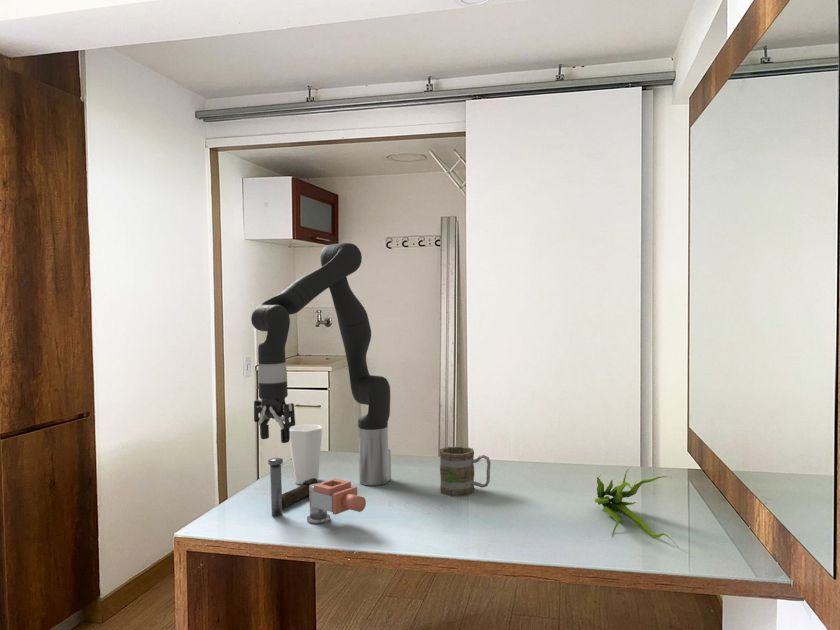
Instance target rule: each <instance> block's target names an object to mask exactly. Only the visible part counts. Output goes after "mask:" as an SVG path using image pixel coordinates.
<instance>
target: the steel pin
mask: <svg viewBox="0 0 840 630" xmlns="http://www.w3.org/2000/svg"><path fill="white" fill-rule="evenodd" d="M283 460H284V459H283V458H282V457H272V458H269V459H267V464H268V465H269V466H270V467H269V468H270V470H269V471H270V500H271V501H270V502H271V503H270V504H271V517H272V518H273V517H274V518H279V517H280V518H281V517H282V516H283V509H282V494H283V490H282V489H283V487H282V464H284V463H283V462H284V461H283Z"/></svg>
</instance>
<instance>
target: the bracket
mask: <svg viewBox="0 0 840 630" xmlns="http://www.w3.org/2000/svg"><path fill="white" fill-rule="evenodd" d="M318 483H319V484H315V485H313V491H315V492H319V493H323V494H327V495H331V494H332V505H333V512H332V515H339V514H341V513H344V512H347V511H349V510H352V511H354V512H358V513H361V512H363V510H365V507H366V506H367V505H366V504H367V500H366V498H365V497H364V496H361V495H358V487H357V486H352V481H349V480H346V479H341V478H340V479H339V478H331V479H329V480H325V481H323V482H318ZM332 486H333V487H332Z"/></svg>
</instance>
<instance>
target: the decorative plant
mask: <svg viewBox="0 0 840 630" xmlns="http://www.w3.org/2000/svg"><path fill="white" fill-rule="evenodd" d="M630 469H631V467H629V468H628V469H627V470H626V471H625V473H624V476H623V480H622V483H621V484H620V485H617V486H615V487H614V484H613V482H614V481H615V480H616V479H617V478H614V479H611V480H610V481H609V485H607V486H606V488H605V484H604V483H603V482H602V481H601V479H600V476H601V475H602V473H600V475H599V476H597V477H596V484H597V486H596V491H597V492H596V493H597V495H596V496H597V498H595V499H594V503H595V504H596V503H597V505H598V506H599V505H602V507H603V509H602V510H601V511H602V512H604V513H606V514H607V515H609V516H611V518H613V520H615V521H616V522H615V525H614V528H613V530H612V533H611V537H613V536H614V534H615V531H616V530H617V527H618V526H619V524H620V523H621V518H620V516H619V514H623V515H624V516H625V517H628V518H629V519H630V520H631V521H632V522H633V523H634V524H636V525H637V526H638V527H639V528H640V529H641V530H642V531H643V532H645V533H646V534H647V535H648V536H649V537H651V538H654V539H655V538H656V539H659V538H661V537H663V536H666V538H668V539H669V540H671V541H672V542H673V543H674V544H675V546H676V547H677V548H678V549H679V546H678V545H677V544H676V542H675V541H674V539H672V538H671V537H670V536H668V534H666V533H664V532H661V533H652V531H651V530H650V528H649V526H647V524H646V522H645V521H644V520H643V519H642V518H641V517H639V516H638V515H637V514H635V512H633V511H632V510H631V509H629V507H628V506H631V505H634V504H638V502H637V501H635V502H627V501H623V499H624V498H629V497H632V496H634V495H636V494H637V492H638V491H639V489H640V488H641V486H642V485H643V484H647V483H650V482H654V481H656V480H658V479H660V478H661V479H662V478H671V479H672V478H673V477H672V476H666V475H662V476H656V477H654V478H647V479H642V480H641V481H639V482H638V483H637V481H638V480H637V479H636V480H635V483H634V484H633V486H631V485H630V483H629V482H627V481H626V478H627V473H628V472H629V470H630ZM626 486H628V488H630V490H624V489H625V488H626ZM613 487H614V488H613ZM623 490H624V491H623ZM610 497H611V498H610ZM618 513H619V514H618Z"/></svg>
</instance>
